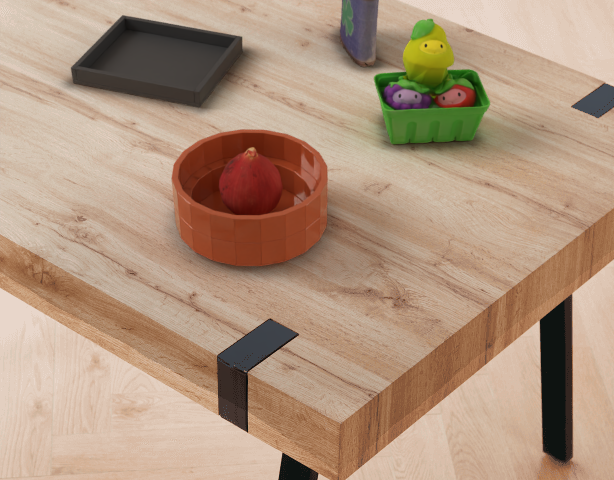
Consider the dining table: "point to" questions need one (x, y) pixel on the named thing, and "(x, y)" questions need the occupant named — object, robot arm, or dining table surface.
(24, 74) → the dining table surface
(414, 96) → the fruit basket
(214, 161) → the bowl
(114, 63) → the tray
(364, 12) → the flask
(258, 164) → the onion
